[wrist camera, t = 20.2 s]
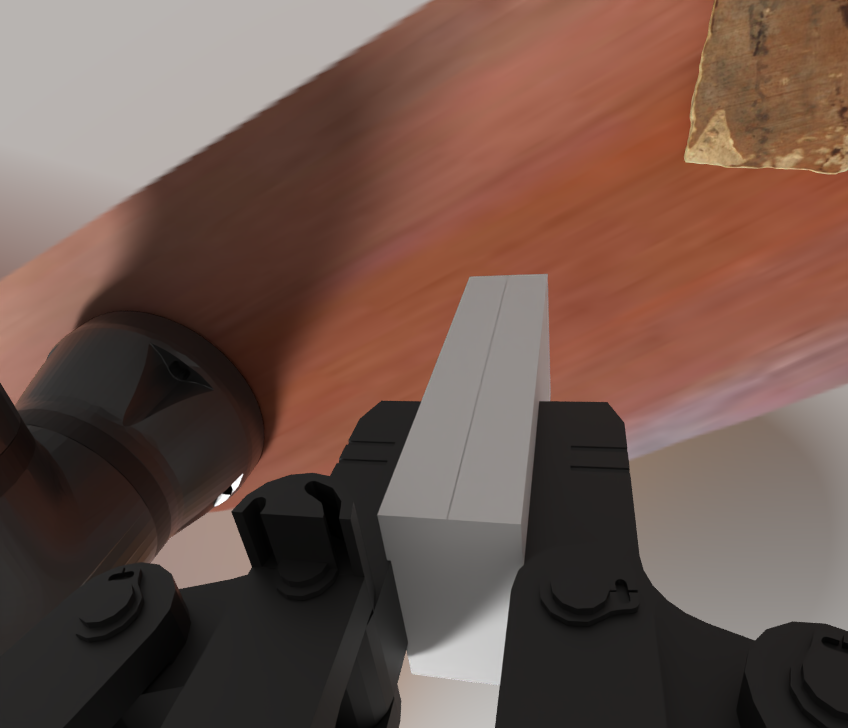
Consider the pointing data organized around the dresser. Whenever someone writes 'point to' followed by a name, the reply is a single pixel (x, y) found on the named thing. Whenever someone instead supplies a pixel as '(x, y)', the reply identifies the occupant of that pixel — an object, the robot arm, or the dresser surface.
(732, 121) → the shard
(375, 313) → the dresser surface
